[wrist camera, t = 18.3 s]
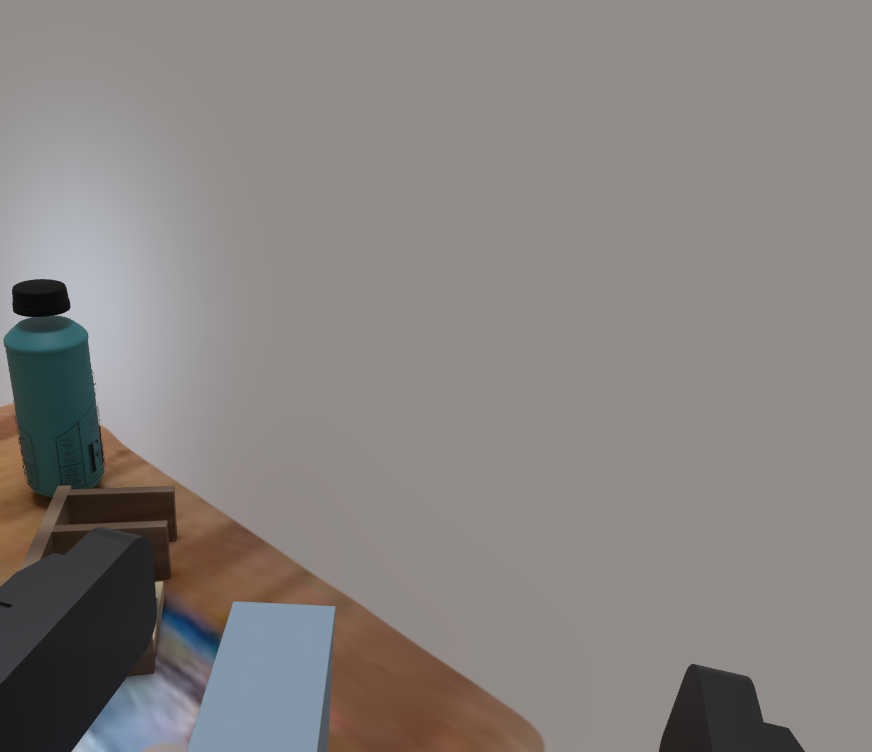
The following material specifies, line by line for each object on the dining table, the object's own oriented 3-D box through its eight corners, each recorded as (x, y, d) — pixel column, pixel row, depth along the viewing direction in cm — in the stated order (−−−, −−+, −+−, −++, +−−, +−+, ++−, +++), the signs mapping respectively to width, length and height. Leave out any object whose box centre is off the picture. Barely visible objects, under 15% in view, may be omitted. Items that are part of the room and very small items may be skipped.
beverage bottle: (105, 508, 64) (82, 296, 56) (21, 517, 62) (-16, 297, 54) (109, 470, 70) (89, 271, 62) (32, 476, 67) (1, 271, 59)
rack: (153, 673, 48) (148, 616, 46) (5, 686, 46) (-7, 627, 44) (177, 530, 62) (174, 482, 60) (64, 536, 60) (57, 485, 58)
